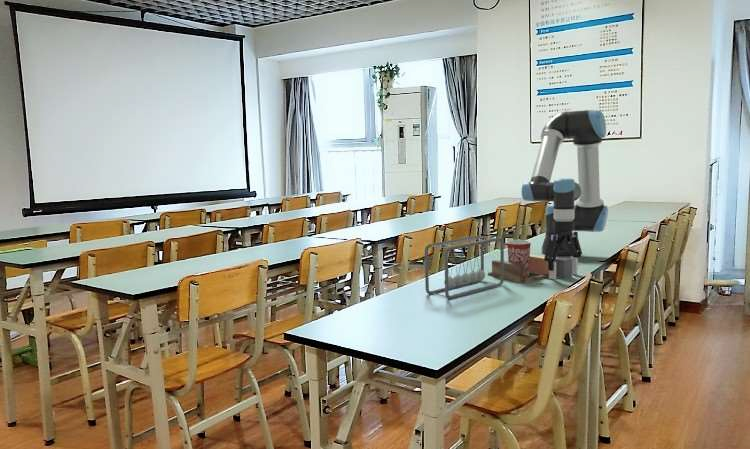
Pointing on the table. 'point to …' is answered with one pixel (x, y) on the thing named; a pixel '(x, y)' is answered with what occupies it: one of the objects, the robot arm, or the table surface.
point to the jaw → (538, 265)
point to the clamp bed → (512, 271)
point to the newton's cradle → (464, 278)
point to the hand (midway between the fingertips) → (563, 276)
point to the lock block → (563, 267)
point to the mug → (519, 253)
